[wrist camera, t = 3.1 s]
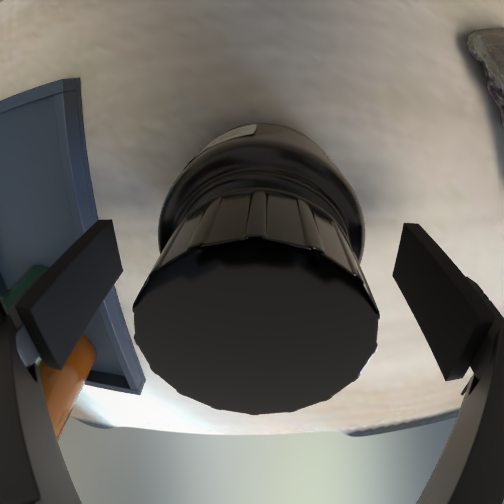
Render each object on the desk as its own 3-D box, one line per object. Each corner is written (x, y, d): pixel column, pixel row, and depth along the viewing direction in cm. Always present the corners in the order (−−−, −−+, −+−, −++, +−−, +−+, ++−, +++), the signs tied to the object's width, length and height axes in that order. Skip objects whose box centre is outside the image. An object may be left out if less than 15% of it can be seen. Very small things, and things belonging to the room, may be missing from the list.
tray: (-37, 120, 16) (-53, 126, 14) (80, 77, 15) (62, 79, 13) (42, 359, 29) (34, 371, 27) (145, 379, 28) (140, 395, 26)
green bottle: (63, 265, 21) (-41, 404, 9) (83, 321, 24) (10, 455, 12) (17, 263, 22) (-80, 376, 10) (38, 314, 24) (-36, 427, 12)
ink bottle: (213, 96, 16) (112, 119, 5) (362, 146, 17) (482, 245, 6) (176, 244, 21) (104, 395, 10) (303, 281, 21) (322, 444, 11)
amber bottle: (85, 326, 24) (15, 459, 12) (104, 368, 27) (54, 490, 15) (40, 319, 25) (-32, 432, 13) (61, 359, 27) (6, 466, 15)
